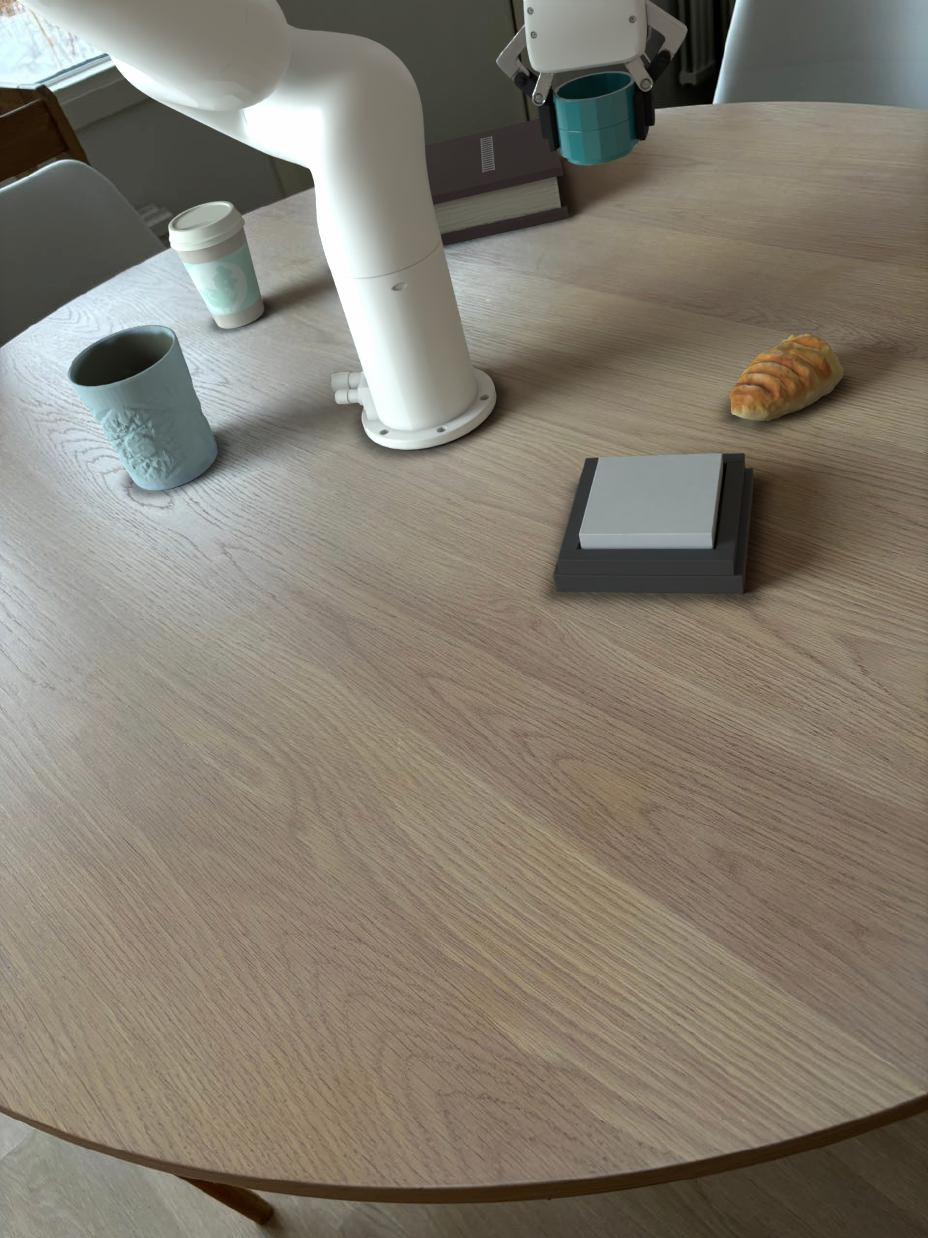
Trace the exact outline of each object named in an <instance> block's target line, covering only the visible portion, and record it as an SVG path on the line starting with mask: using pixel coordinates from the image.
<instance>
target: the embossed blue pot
mask: <svg viewBox="0 0 928 1238" xmlns="http://www.w3.org/2000/svg"><path fill="white" fill-rule="evenodd" d="M66 376H67V379H68V380H67V381H68V382H69V383H70V385H71V387H72V388H73V389H74V391H75V392H76V394H77V395H78V396H79V398H80V399H81V401H82V403H83V404H84V405H85V406H86V407H87V408H88V411H89V412H90V414H91V417H92V418H93V419H94V420H95V421H96V422H97V423H98V424H99V425H100V426H101V430H102V432H103V434H104V436H105V439H106V440H108V441H109V444H110V446H111V448H112V449H113V450H114V452H115V453H116V454H117V456H118V459H119V461H120V462H121V464H122V465H123V468H124V469H125V470H126V472H127V473H128V475H129V476H130V478H131V479H132V481H133V482H134V484H136V485H137V486H138V487H140V488H141V489H143V490H146V491H147V490H148V491H165V490H170V489H174V488H177V487H180V486H183V485H186V484H187V483H188V484H189V483H190V482H192V481H193V480H195V479H197V478H198V477H200V476H201V475H203V474H204V473H206V471H207V470H209V468H210V467H211V466H212V465H213V464H214V463H215V461H216V459H217V457H218V453H219V451H218V445H217V442H216V439H215V436H214V434H213V431H212V429H211V426H210V423H209V421H208V418H207V417H206V416H205V414H204V412H203V409H202V404H201V400H200V399H199V396H197V392H196V390H195V387H194V384H193V377H192V375H191V373H190V369H189V366H188V363H187V361H186V358H185V356H184V353H183V350H182V347H181V345H180V341H179V339H178V336H177V334H176V333H175V330H173V329H172V328H170V327H168V326H165V325H160V324H145V325H138V326H131V327H128V328H126V329H122V330H118V331H116V332H113V333H111V334H109V335H107V336H104V337H102V338H100V339H98V340H96V341H95V342H93V343H92V344H89V345H88V346H87V347H85V348H84V349H83V350H81V352H79V353H78V354H77V355H76V356H75V357H74V358H73V360H72V361H71V364H70V365H69V368H68V369H67V374H66Z"/></svg>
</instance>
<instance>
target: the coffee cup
mask: <svg viewBox="0 0 928 1238" xmlns="http://www.w3.org/2000/svg"><path fill="white" fill-rule="evenodd" d="M245 224H246V221H245V219H244V218H243V215H242V213H241V212H239V211H238V210H237V208H236V206H235V205H234V204H233V203H232V202H230V201H225V200H217V201H216V200H215V201H210V202H205V203H201V204H199V205H195V206H192V207H191V208H187V209H186V210H184V211H182V212H180V213H179V214H177V215H176V216H175V217H173V218H172V219H171V220H170V222H169V223H168V233H169V236H168V241H169V243H170V244H169V245H170V248H171V249H172V250H174V251H175V252H176V253H177V255H178V257H179V259H180V260H181V262H182V264H183V267H184V268H185V270H186V272H187V273H188V275H189V277H190V279H191V281H192V282H193V284H194V286H195V288H196V290H197V291H198V293H199V295H200V296H201V299H202V300H203V302H204V304H205V306H206V307H207V309H208V311H209V312H210V315H211V316H212V318H213V320H214V321H215V323H216V325H217V326H218V327H219V328H222V329H226V330H227V329H237V328H240V327H244V326H247V325H249V324H252V323H253V322H255V321H256V320H258V319H259V318H260V317H261V316H262V315H263V313H264V312H265V306H264V301H263V298H262V294H261V289H260V285H259V281H258V278H257V274H256V271H255V266H254V262H253V258H252V254H251V250H250V247H249V243H248V239H247V235H246V231H245V228H244V226H245Z"/></svg>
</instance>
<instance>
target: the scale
mask: <svg viewBox="0 0 928 1238" xmlns="http://www.w3.org/2000/svg"><path fill="white" fill-rule="evenodd" d="M722 455H723V476H722V484H721V492H720V501H719V509H718V517H717V525H716V533H715V541H714V549H582V547H581V542H580V536H579V533H580V529H581V526H582V522H583V518H584V514H585V510H586V507H587V503H588V499H589V495H590V491H591V487H592V484H593V480H594V476H595V472H596V468H597V465H598V461H599V457H585V460H584V464H583V466H582V470H581V473H580V476H579V480H578V483H577V487H576V491H575V495H574V498H573V501H572V506H571V509H570V512H569V516H568V518H567V523H566V527H565V529H564V534H563V537H562V541H561V545H560V548H559V552H558V555H557V559H556V563H555V566H554V569H553V574H552V578H553V584H554V588H555V591H556V592H566V593H567V592H573V593H574V592H576V593H577V592H579V593H645V594H646V593H657V594H660V593H661V594H664V593H665V594H726V595H727V594H729V595H731V594H732V595H733V594H735V595H739V594H740V595H743V594H744V593H745V585H746V574H747V573H746V572H747V564H748V563H747V562H748V551H749V542H750V541H749V540H750V531H751V530H750V528H751V518H752V506H753V495H754V468H753V467H746V454H745V453H744V452H740V453H739V452H738V453H737V452H734V453H733V452H732V453H722Z"/></svg>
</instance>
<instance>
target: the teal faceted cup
mask: <svg viewBox="0 0 928 1238" xmlns="http://www.w3.org/2000/svg"><path fill="white" fill-rule="evenodd" d="M635 91H636V82H635V80H634V79H633V77H632V76H631V74H630V73H629V72H626V71H623V70H622V71H621V70H618V71H617V70H614V71H613V70H612V71H611V70H610V71H602V72H601V71H600V72H595V73H589V74H586V75H581V76H577V77H575V78H572V79H569V80H567V81H565V82H563V83H562V84H560V85H558V86H557V87H556V88H554V89H553V94H552V97H553V105H554V112H555V120H556V127H557V135H558V142H559V148H558V151H559V153H560V154H561V156H562V157H563V158H566V160H567V161H568V162H569V163H571V164H574V165H578V166H596V165H602V164H603V165H604V164H607V163H611V162H614V161H617V160H620V159H622V158H624V157H626V156H628V155H629V154H631V153H632V152H633V151H634V150H635V148H636V145H637V144H639V143H640V141H639V139H638V140H637V133H636V121H635V108H634V93H635Z"/></svg>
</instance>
